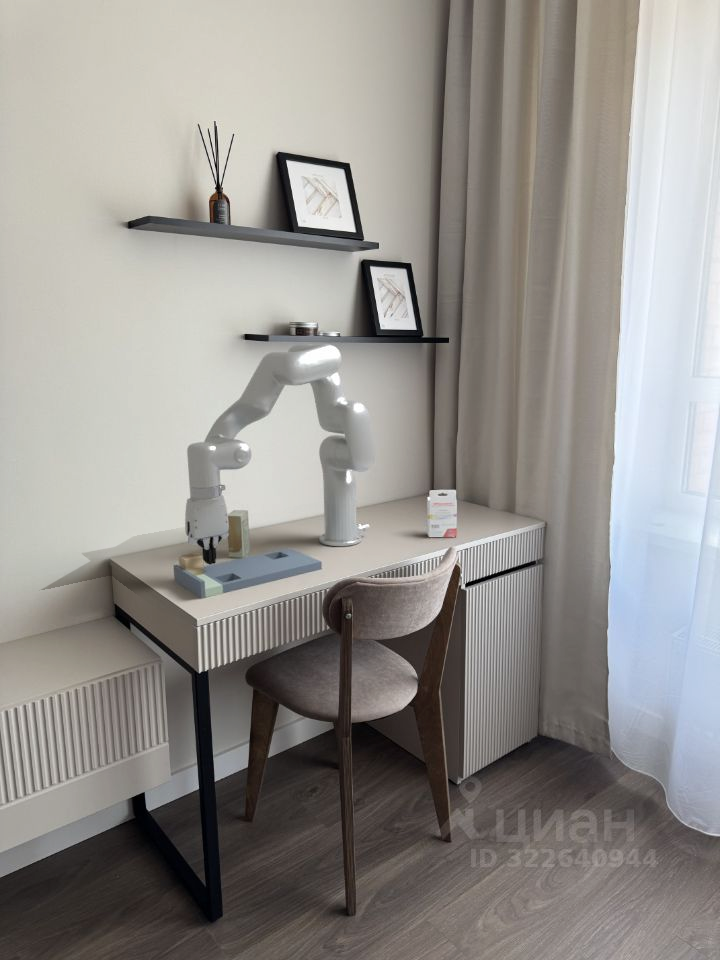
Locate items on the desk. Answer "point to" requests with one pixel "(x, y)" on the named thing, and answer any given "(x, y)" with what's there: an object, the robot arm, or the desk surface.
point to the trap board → (246, 572)
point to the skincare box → (238, 534)
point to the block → (192, 563)
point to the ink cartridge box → (442, 513)
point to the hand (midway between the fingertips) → (210, 562)
